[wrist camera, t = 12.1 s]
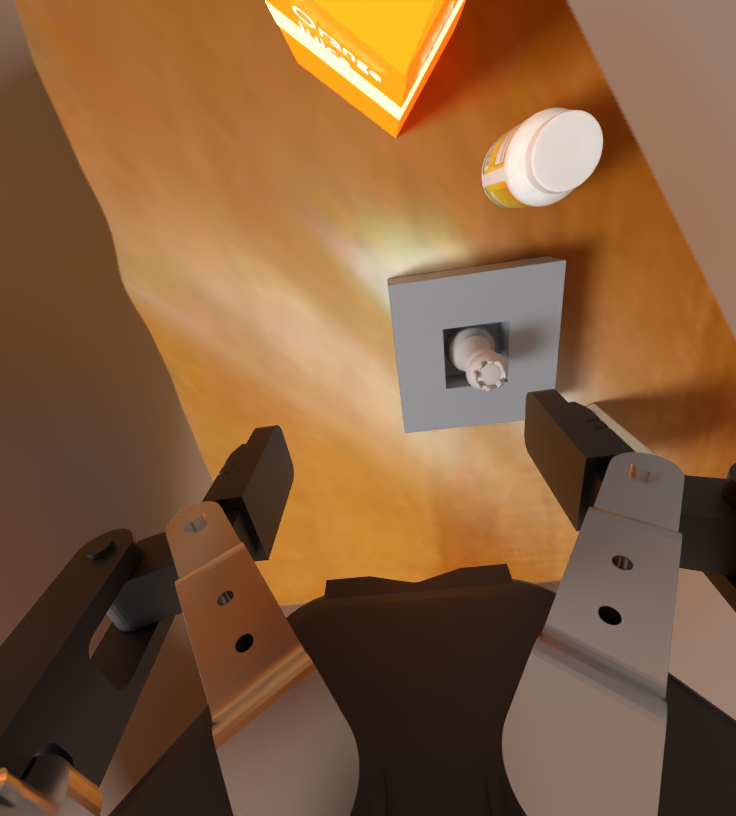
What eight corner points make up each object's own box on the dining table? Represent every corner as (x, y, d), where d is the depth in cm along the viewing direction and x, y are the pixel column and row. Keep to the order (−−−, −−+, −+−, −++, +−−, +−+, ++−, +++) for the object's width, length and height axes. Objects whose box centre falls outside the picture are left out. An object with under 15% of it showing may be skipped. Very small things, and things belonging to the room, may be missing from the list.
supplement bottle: (475, 143, 29) (515, 111, 21) (545, 120, 28) (617, 76, 20) (485, 217, 32) (524, 216, 23) (550, 198, 31) (616, 188, 22)
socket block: (387, 279, 34) (388, 285, 30) (545, 256, 33) (566, 260, 29) (402, 414, 40) (405, 433, 37) (536, 399, 39) (552, 417, 35)
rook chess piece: (500, 349, 36) (531, 381, 28) (460, 375, 37) (479, 412, 30) (476, 312, 34) (502, 335, 27) (435, 341, 35) (449, 371, 28)
